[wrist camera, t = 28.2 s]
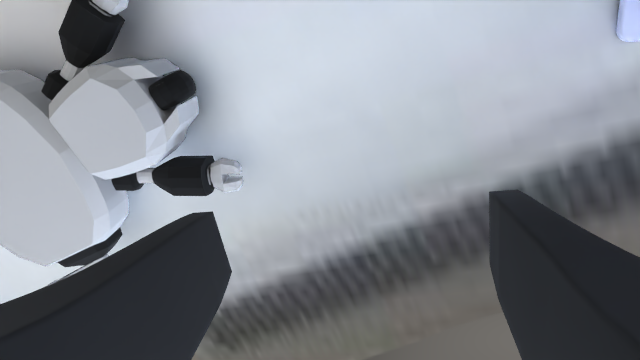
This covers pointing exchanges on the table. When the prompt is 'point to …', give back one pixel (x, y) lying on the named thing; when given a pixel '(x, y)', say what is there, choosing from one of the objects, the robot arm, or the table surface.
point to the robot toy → (93, 143)
